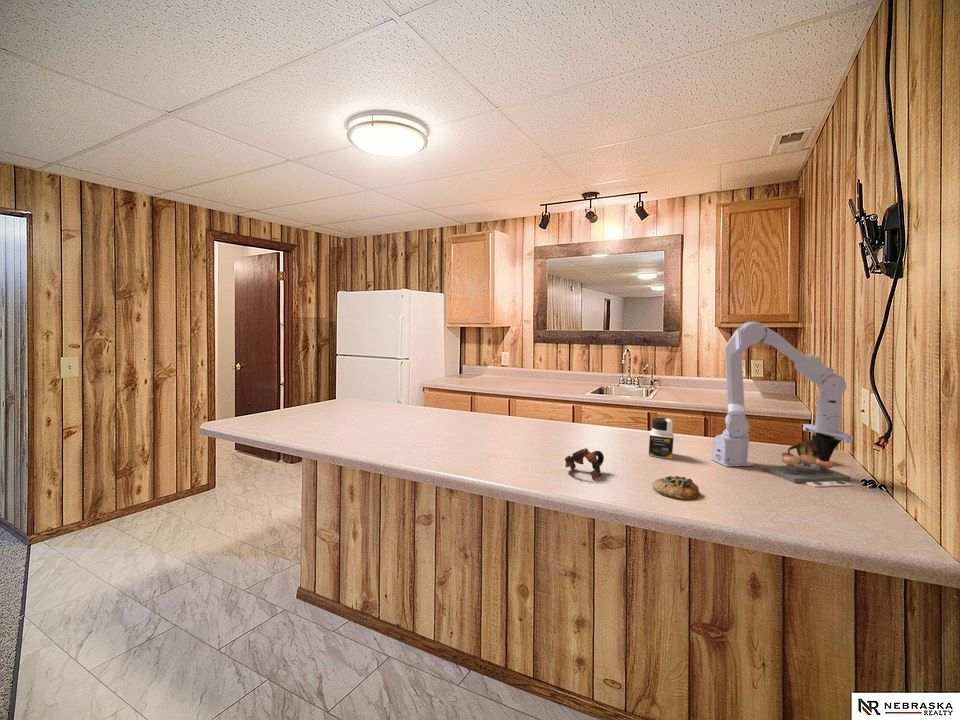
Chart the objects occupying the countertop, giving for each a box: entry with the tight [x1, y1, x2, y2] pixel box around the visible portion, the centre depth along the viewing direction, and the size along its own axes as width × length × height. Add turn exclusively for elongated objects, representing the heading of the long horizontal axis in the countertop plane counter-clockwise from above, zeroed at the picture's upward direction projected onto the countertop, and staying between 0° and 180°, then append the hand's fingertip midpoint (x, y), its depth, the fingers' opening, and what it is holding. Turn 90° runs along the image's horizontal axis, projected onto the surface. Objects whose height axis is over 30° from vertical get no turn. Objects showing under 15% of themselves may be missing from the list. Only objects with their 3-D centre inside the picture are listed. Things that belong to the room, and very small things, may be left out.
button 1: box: [782, 455, 800, 467], centre depth 137 cm, size 4×4×3 cm
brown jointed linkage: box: [564, 447, 605, 481], centre depth 135 cm, size 12×10×8 cm
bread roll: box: [651, 475, 700, 501], centre depth 122 cm, size 11×11×5 cm
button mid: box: [799, 455, 816, 467], centre depth 138 cm, size 4×4×3 cm
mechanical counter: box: [781, 438, 819, 459], centre depth 153 cm, size 7×13×10 cm
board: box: [764, 464, 852, 484], centre depth 138 cm, size 18×11×2 cm, turn 99°
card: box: [805, 481, 854, 488], centre depth 131 cm, size 12×3×1 cm, turn 99°
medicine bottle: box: [648, 417, 675, 460], centre depth 155 cm, size 7×7×12 cm
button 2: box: [814, 459, 833, 470], centre depth 139 cm, size 4×4×3 cm
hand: (824, 460), depth 139 cm, fingers closed, pressing on button 2
